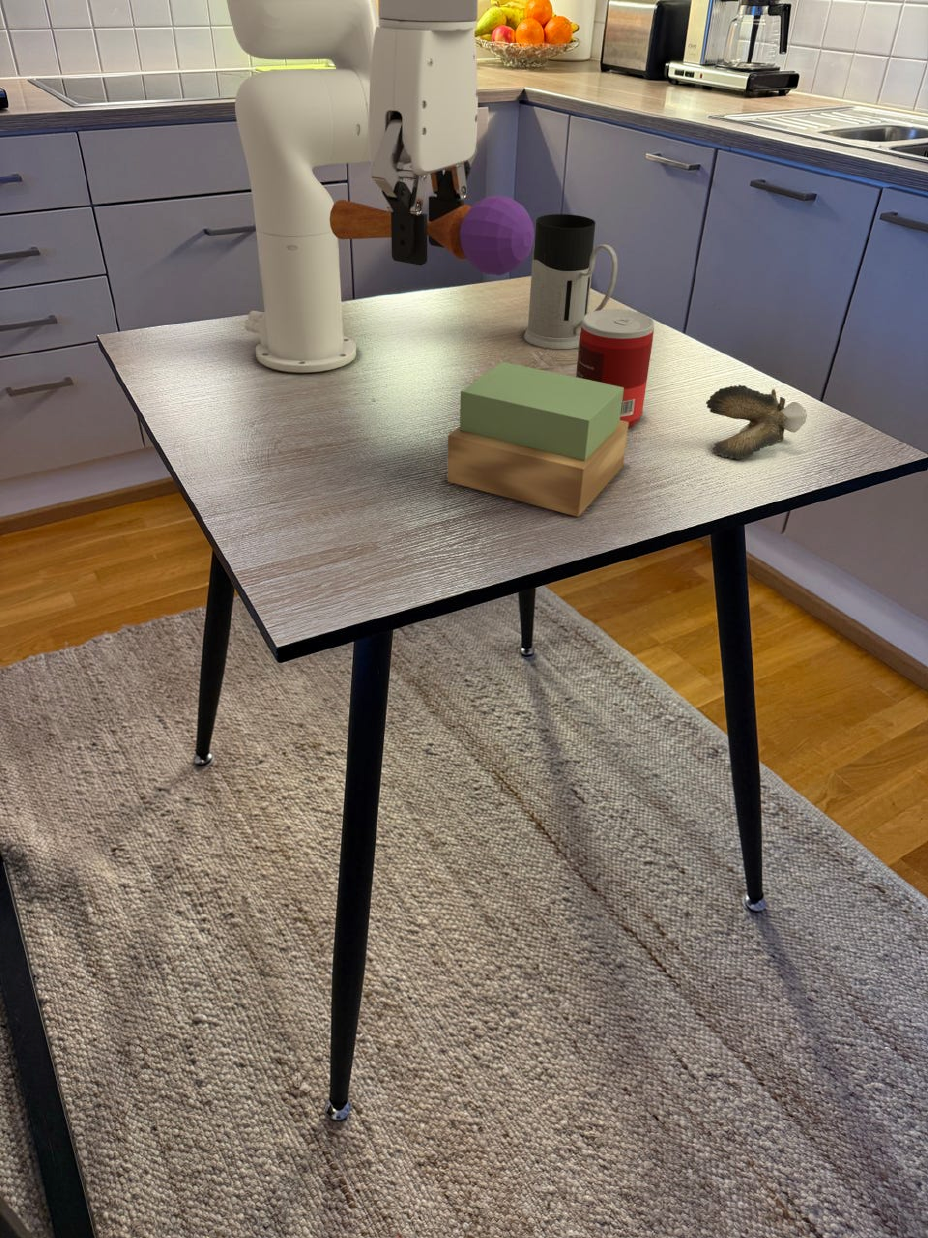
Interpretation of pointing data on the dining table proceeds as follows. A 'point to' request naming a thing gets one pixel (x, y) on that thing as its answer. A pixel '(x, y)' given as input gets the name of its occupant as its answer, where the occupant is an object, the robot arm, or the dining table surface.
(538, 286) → the glass holder
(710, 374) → the dining table surface
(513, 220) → the purple wooden maraca
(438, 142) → the robot arm
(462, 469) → the maple block
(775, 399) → the eagle figurine
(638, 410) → the canned food
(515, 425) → the sage block
